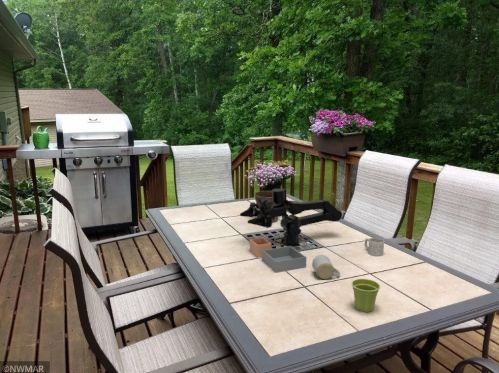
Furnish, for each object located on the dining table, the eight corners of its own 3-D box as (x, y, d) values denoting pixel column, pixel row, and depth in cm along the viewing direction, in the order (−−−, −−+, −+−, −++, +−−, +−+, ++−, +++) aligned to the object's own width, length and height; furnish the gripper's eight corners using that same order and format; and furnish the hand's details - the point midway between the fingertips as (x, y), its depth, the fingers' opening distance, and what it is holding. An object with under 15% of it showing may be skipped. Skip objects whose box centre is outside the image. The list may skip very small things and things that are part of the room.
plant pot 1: (286, 219, 237) (286, 192, 234) (273, 226, 224) (273, 198, 221) (262, 215, 246) (263, 189, 242) (249, 221, 233) (248, 194, 229)
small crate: (263, 249, 189) (263, 237, 188) (271, 255, 181) (271, 243, 180) (249, 251, 187) (249, 239, 186) (257, 258, 179) (257, 245, 178)
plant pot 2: (346, 301, 140) (347, 278, 138) (372, 300, 140) (373, 277, 139) (355, 315, 130) (356, 291, 129) (383, 314, 131) (385, 290, 129)
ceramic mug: (316, 280, 156) (317, 262, 154) (311, 272, 164) (312, 254, 162) (342, 280, 157) (344, 261, 155) (336, 271, 165) (337, 254, 163)
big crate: (290, 256, 181) (290, 246, 180) (306, 268, 168) (306, 257, 167) (262, 260, 176) (262, 250, 175) (275, 273, 163) (276, 262, 162)
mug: (386, 254, 182) (387, 241, 181) (376, 257, 179) (377, 243, 178) (369, 247, 191) (370, 234, 189) (359, 250, 187) (360, 237, 186)
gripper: (265, 189, 194) (235, 195, 188) (283, 202, 177) (251, 208, 172) (265, 210, 197) (236, 217, 192) (283, 224, 181) (252, 232, 175)
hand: (243, 218), depth 182 cm, fingers open, 9 cm apart
